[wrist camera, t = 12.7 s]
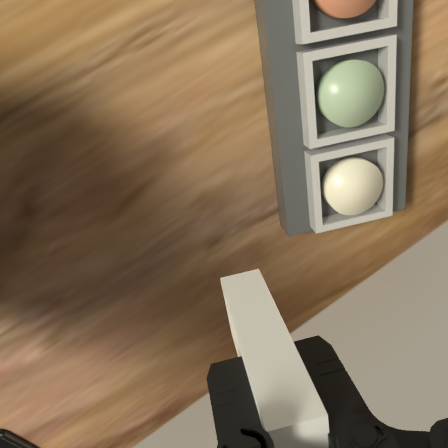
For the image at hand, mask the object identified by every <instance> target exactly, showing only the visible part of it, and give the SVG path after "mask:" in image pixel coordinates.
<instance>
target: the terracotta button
mask: <svg viewBox="0 0 448 448" xmlns="http://www.w3.org/2000/svg"><path fill="white" fill-rule="evenodd" d="M312 1H313V3H314V5H315V6H316V8H317V9H318V10H319V11H320V12H321V13H323V14H324V15H326V16H328V17H331V18H338V19H340V18H352V17H356V16H358V15H361V14H362V13H364V12H366V11H367V10H368V9H369V8H370V7H371V6H372V5H373V4H374V3H375V2H376V0H312Z"/></svg>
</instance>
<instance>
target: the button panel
mask: <svg viewBox="0 0 448 448" xmlns="http://www.w3.org/2000/svg"><path fill="white" fill-rule="evenodd" d="M255 9H256V17H257V26H258V34H259V43H260V52H261V60H262V69H263V78H264V86H265V95H266V103H267V112H268V121H269V129H270V138H271V147H272V155H273V164H274V172H275V181H276V190H277V198H278V207H279V216H280V224H281V226H282V228H283V229H284V231H285V232H286V233H287V235H288V236H292V235H296V234H300V233H304V232H309V231H313V230H314V232H315V233H320V232H325V231H329V230H333V229H337V228H342V227H346V226H350V225H355V224H359V223H363V222H367V221H372V220H376V219H380V218H384V217H389V216H392V215H393V212H394V211H399V210H403V209H405V201H406V176H407V150H408V125H409V99H410V73H411V48H412V22H413V0H376V2H375V3H374V4H373V5H372V6H371V7H370V8H369V9H368V10H367V11H366V12H364V13H362V14H361V15H358V16H356V17H352V18H340V19H338V18H331V17H328V16H326V15H324V14H323V13H321V12H320V11H319V10H318V9H317V8H316V6H315V5H314V3H313V1H312V0H255ZM344 59H355V60H362V61H367V62H369V63H371V64H373V65H374V66H375V67H376V68H377V69H378V70H379V72H380V73H381V75H382V78H383V82H384V95H383V99H382V102H381V105H380V107H379V108H378V110H377V111H376V113H375V114H374V115H373V116H372V117H371V118H370V119H369V120H368V121H366V122H365V123H363V124H361V125H359V126H356V127H342V126H339V125H337V124H334V123H332V122H330V121H328V120H327V119H326V118H324V117H323V116H322V114H321V113H320V111H319V109H318V107H317V104H316V89H317V85H318V82H319V80H320V78H321V76H322V75H323V73H324V72H325V71H326V70H327V69H328V68H329V67H330V66H331V65H333V64H334V63H336V62H338V61H341V60H344ZM347 156H359V157H362V158H364V159H366V160H367V161H369V162H371V163H373V164H374V165H375V166H377V167H378V169H379V170H380V172H381V174H382V177H383V188H382V192H381V194H380V196H379V198H378V200H377V201H376V202H375V204H374V205H373V206H372V207H370V208H369V209H368V210H366V211H365V212H363V213H360V214H357V215H350V216H349V215H343V214H340V213H338V212H337V211H335V210H334V209H333V208H332V207H331V206H330V205H329V204H328V203H327V202H326V201H325V199H324V197H323V195H322V190H321V185H322V180H323V177H324V175H325V173H326V171H327V170H328V168H329V167H330V166H331V165H332V164H333V163H335V162H336V161H337V160H339V159H341V158H344V157H347Z"/></svg>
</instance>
